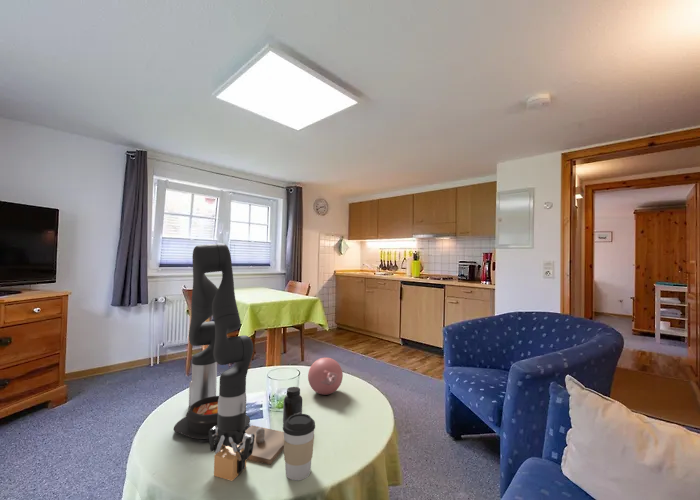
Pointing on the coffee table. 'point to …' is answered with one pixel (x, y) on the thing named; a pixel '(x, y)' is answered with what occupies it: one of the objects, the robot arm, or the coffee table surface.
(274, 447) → the post stand
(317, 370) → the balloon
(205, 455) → the coffee table surface
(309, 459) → the coffee cup
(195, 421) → the casserole
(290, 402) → the supplement bottle
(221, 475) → the peach cube
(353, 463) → the coffee table surface
